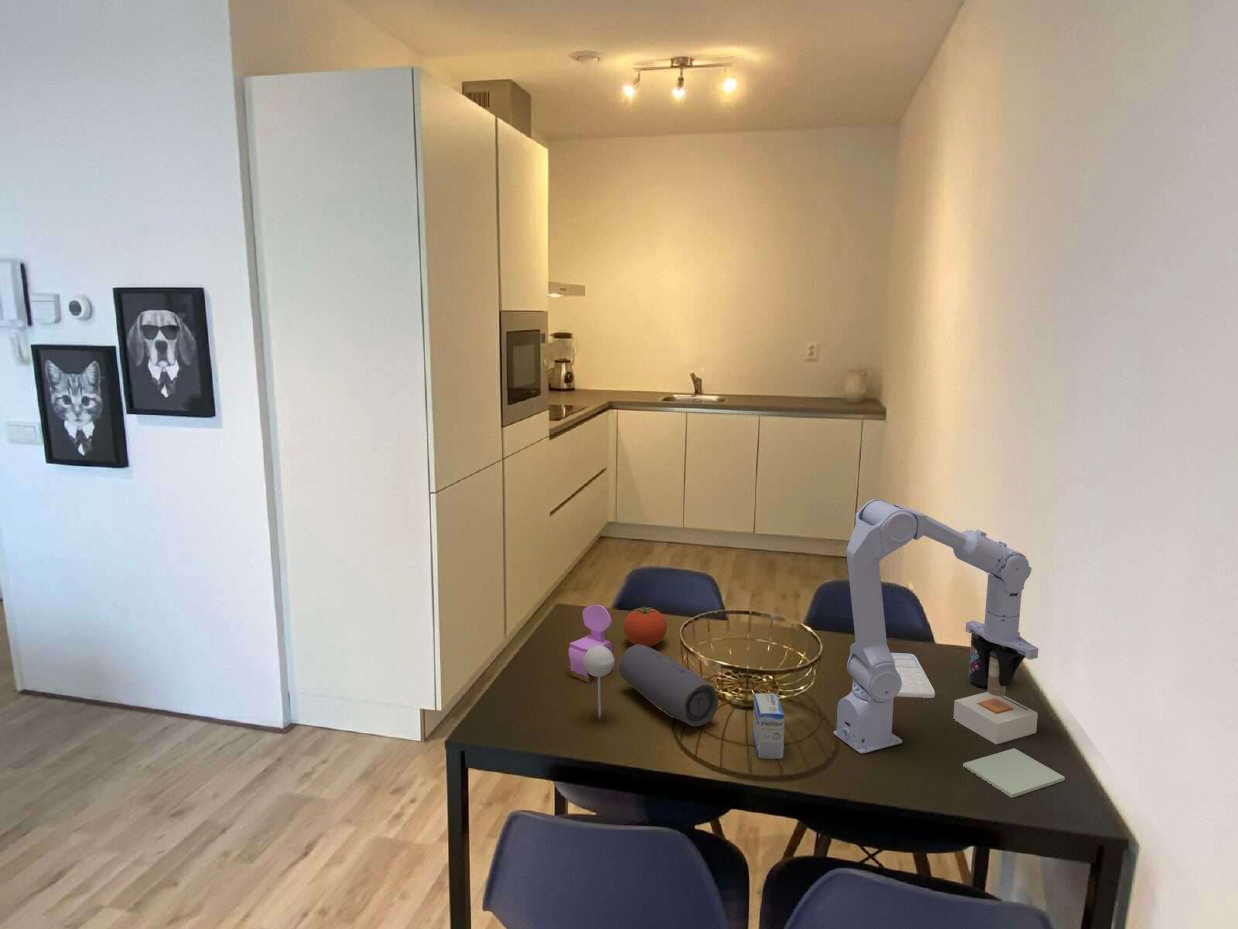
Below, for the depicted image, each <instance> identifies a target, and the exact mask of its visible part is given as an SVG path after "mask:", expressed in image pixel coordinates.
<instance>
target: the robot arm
mask: <svg viewBox="0 0 1238 929" xmlns="http://www.w3.org/2000/svg"><path fill="white" fill-rule="evenodd" d="M987 535H988V534H987V532H984V531H982V530H980V529H976V530H975V531H974V530H972V529H969V530H964V531H962V532H959V531H957V530H956V529H954V528H953V527H950V526H948V525H946V524H944V523H942V522H941V521H938V520H937V519H935V518H933V517H931V516H929V515H926V514H924V513H923V512H919V511H918V510H915V509H912V508H909V507H906V506H903V505H899V504H897V503H892V504H891V503H889V502H888V501H887V500H884V499H881V498H873V499H871V500H869V501H868V502H866V503H865V504H864V505H863V506H862V507H861V508H860V509H859V510H858V511H857V512H856V513H855V525H854V528H853V530H852V533H851V537H850V538H849V542H848V545H847V547H846V560H847V562H846V563H847V571H848V573H847V574H848V581H849V582H848V583H849V589H850V590H849V592H850V598H851V599H850V600H851V610H852V618H853V627H854V628H853V629H854V639H855V642H854V643H852V644H850V646H849V657H848V660H847V663H846V669H847V673H848V675H850V677H851V678H852V686H851V687H852V689H851V691H850V692H849V693H848V695H846V696H844V697H842V698H840V699H839V701H838V702H837V708H836V730H833V735H835V736H836V737H837V738H838V739H840V740H841V741H843V742H844V743H846V744H847V745H848V746H849V747H851V748H852V749H854V750H855V751H856V752H858V753H859V754H861V755H862V754H867V753H870V752H873V751H876V750H877V751H878V750H882V749H884V748H888V747H892V746H895V745H900V744H903V740H902V739H901V738H900V737H898V736H896V735H895V734H894V733H893V714H894V711H893V710H894V699H895V697H897V696H896V695H897V694H898V693H899V691H900V689H901V685H902V681H901V677H900V675H899V673H898V672H897V671H896V668H895V661H894V659H893V657H892V655H891V653H892V652H891V651H890V649H889V646H888V645H887V644H888V643H887V642H888V641H887V633H886V631H887V630H886V621H885V612H884V611H885V610H884V601H883V600H884V599H883V590H882V579H881V578H882V577H881V567H880V562H881V561H882V560H883V559H884V558H885V557H887V556H889V555H890V554H892V553H893V552H895V551H897V550H898V549H900V548H903V546H905V545H907V544H908V543H910V541H912V540H916V541H918V540H920V539H921V538H922V537H926V538H929V539H931V540H932V541H933V540H934V541H936V542H938V543H940V544H942V545H945V546H947V547H950V548H951V549H952V551H953V554H954V556H955V558H956V559H957V560H959V561H962V562H964V563H966V564H968V565H970V566H972V567H975V568H977V569H979V570H980V571H984V572H985V573H986V574H987V584H986V599H985V614H984V623H981V622H979V621H976V620H970V621H966V622H965V633H969V634H972V633H974V634H976V635H979V638H978V640H974V641H973V645H974V647H975V649H976V650H977V653H978V655H979V658H980V661H981V665H982V669H983V674H984V678H986V679H988V676H989V661H990V650H992V649H1001V646H1004V647H1005V650H1004V649H1002V650H998V651H996V654H997V658H998V662H999V684H1000V686H1002V687H1004V686H1006V687H1007V686H1011V684H1012V681H1013V678H1014V676H1015V673H1016V671H1017V669H1018V668H1019V666H1020V665H1021V663H1022V662H1023V661H1024V660H1025V659H1027V660H1030V661H1031V660H1035V659H1038V656H1039V647H1037V646H1034V645H1033V644H1032V643H1030V642H1029V641H1028V640H1026V639H1024V638H1023V637H1022V636H1021V632H1020V630H1019V627H1020V616H1021V603H1022V594H1023V590H1024V589H1025V583H1026V582H1027V580H1028V578H1029V577H1030V575H1031V573H1032V570H1033V569H1032V567H1031V566H1030V564H1029V560H1028V559H1027V557H1026V555H1024V554H1023V553H1021V552H1018V551H1017V550H1014V549H1012V548H1009V547H1007V546H1008V545H1007V543H1005V542H1003V541H1001V540H999V541H998V542H997V541H995V540H993V539H991V538H989V537H987Z"/></svg>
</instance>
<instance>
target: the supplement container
mask: <svg viewBox="0 0 1238 929" xmlns="http://www.w3.org/2000/svg"><path fill="white" fill-rule="evenodd" d="M970 634H971V636H970V651H969V652H970V653H969V665H968V681H969V682H970V683H971V685H973V684H974V685H973V686H975V687H978V688H980V689H983V688H985V689H984V690H988V679H986V678H984V674H983V669H982V665H981V661H980V658H979V655H978V653H977V650H976V649H975V647H974V645H973V641H974V640H978V638H979V635H976V634H974V633H970ZM1002 649H1004V650H1005V647H1004V646H1001V650H1002Z"/></svg>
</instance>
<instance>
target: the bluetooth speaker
mask: <svg viewBox="0 0 1238 929" xmlns="http://www.w3.org/2000/svg"><path fill="white" fill-rule="evenodd" d="M618 671H619V674H620V676H621V678H622V679H623V680H624V681H625V682H626V683H627V684H628V685H630V687H632V688H633V689H634V690H636V691H637V692H638V693H640V695H642V696H643V697H644V698H645V699H646V700H647V701H650V702H652V703H653V704H654V705H656V706H658V707H659V708H661V709H662V710H663V711H665V712H666V713H668V714H669V715H671V716H673V717H676V718H678V719H677V720H680V721H681V722H683V723H685V724H687V725H689V726H690V727H691V726H692V727H700V726H703V725H705V724H707V723H709V722H710V721H711V720H712V719H713V717H714V716H715V714H716V712H717V709H718V706H719V697H718V696H719V695H718V692H717V690H716V689H715V688H714V687H713V685H711V684H710V683H709V682H708V681H707V680H705V679H704V678H702V677H701V676H699V675H698V674H696V673H695V672H693V671H692V670H690V669H688V668H687V667H686V666H684V665H682V664H680V662H678V661H676V660H675V659H673V658H670V657H668V656H667V655H666V654H663V653H661V652H660V651H657V650H656V649H654V648H652V647H647V646H644V645H640V644H638V645H635V644H633V645H631V646H630V647H628V648H627V649H626V650H625V651H624V653H623V655H622V657H621V658H620V663H619V666H618ZM650 702H649V703H650ZM653 704H652V705H653ZM654 705H653V706H654Z"/></svg>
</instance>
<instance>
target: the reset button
mask: <svg viewBox="0 0 1238 929" xmlns="http://www.w3.org/2000/svg"><path fill="white" fill-rule="evenodd" d="M979 705H980V706H982V707H984V708H986V709H988V710H989V711H991V712H993V713H995V714H999V713H1003V712H1007V711H1010V710H1012V707H1011V706H1009V705H1007V704H1005V703H1003V702H1001V701H999V700H997V699H995V698H993V699H990V700H986V701H982V702H979Z"/></svg>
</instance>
